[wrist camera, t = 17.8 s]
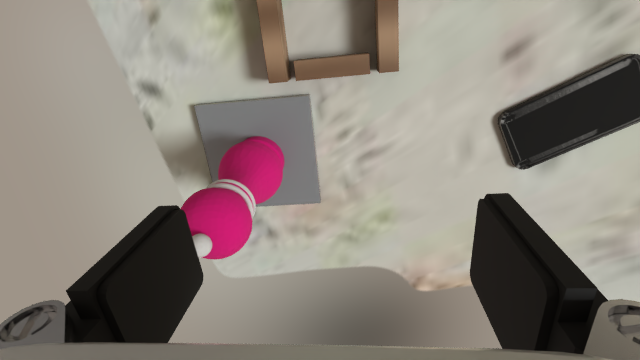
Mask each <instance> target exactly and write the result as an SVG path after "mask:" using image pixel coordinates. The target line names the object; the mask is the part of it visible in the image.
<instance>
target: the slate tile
mask: <svg viewBox="0 0 640 360" xmlns="http://www.w3.org/2000/svg"><path fill="white" fill-rule="evenodd" d="M194 107H195V111H196V115H197V120H198V124H199V128H200V132H201V136H202V140H203V144H204V149H205V153H206V157H207V161H208V165H209V169H210V173H211V178H212V182H215V181H217V180H219V179H218V170H219V165H220V161H221V159H222V157H223V156H224V154H225V153H226V152H227V151H228V150H229V149H230V148H231V147H232V146H234V145H236V144H238V143H240V142H243V141H244V140H246V139H248V138H250V137H254V136H261V137H266V138H268V139H270V140H272V141H274V142H275V143H276V144H277V145H278V146H279V147H280V149H281V150H282V152H283V155H284V168H283V178H282V182H281V185H280V187H279V188H278V190H277V191H276V193H275V194H274V195H273V196H272V197H271V198H269V199H268V200H266V201H265V202H263V203H260V204H256V207H257V206H275V205H293V204H311V203H321V194H320V185H319V176H318V166H317V157H316V148H315V138H314V129H313V120H312V110H311V101H310V94H309V95H297V96H286V97H275V98H264V99H253V100H242V101H230V102H219V103H208V104H197V105H195V106H194Z"/></svg>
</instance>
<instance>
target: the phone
mask: <svg viewBox="0 0 640 360" xmlns="http://www.w3.org/2000/svg"><path fill="white" fill-rule="evenodd" d="M638 122H640V55H638V54H627V55H624V56H622V57H620V58H618V59H616V60H614V61H611V62H609V63H607V64H605V65H603V66H601V67H599V68H596V69H594V70H592V71H590V72H588V73H586V74H584V75H581V76H579V77H577V78H575V79H573V80H571V81H569V82H566V83H564V84H562V85H560V86H558V87H556V88H554V89H551V90H549V91H547V92H545V93H543V94H541V95H539V96H536V97H534V98H532V99H530V100H528V101H526V102H523V103H521V104H519V105H517V106H515V107H513V108H511V109H508V110H506V111H504V112H503V113H502V114H501V115H500V116H499V118H498V125H499V127H500V130H501V133H502V136H503V138H504V141H505V144H506V147H507V150H508V152H509V155H510V158H511V161H512V163H513V165H515V166H516V167H517V168H518V169H528V168H530V167H532V166H535V165H537V164H540V163H542V162H544V161H547V160H549V159H552V158H554V157H556V156H559V155H561V154H564V153H566V152H568V151H571V150H573V149H576V148H578V147H580V146H583V145H585V144H588V143H590V142H592V141H595V140H597V139H600V138H602V137H604V136H607V135H609V134H612V133H614V132H616V131H619V130H621V129H624V128H626V127H629V126H631V125H633V124H636V123H638Z"/></svg>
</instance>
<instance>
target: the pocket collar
mask: <svg viewBox="0 0 640 360" xmlns="http://www.w3.org/2000/svg"><path fill="white" fill-rule="evenodd" d="M257 7H258V14H259V20H260V27H261V33H262V40H263V47H264V53H265V60H266V66H267V73H268V80H269V83H278V82H287V81H289V80H290V79H291V74H290V66H289V58H288V50H287V42H286V34H285V26H284V18H283V11H282V3H281V0H257ZM375 17H376V50H377V71H378V72H379V73H385V72H395V71H399V40H398V0H375ZM294 69H295V77H296V81H300V80H310V79H321V78H331V77H342V76H353V75H363V74H370V60H369V53H360V54H350V55H340V56H330V57H320V58H310V59H300V60H296V61H294Z"/></svg>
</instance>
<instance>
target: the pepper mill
mask: <svg viewBox="0 0 640 360" xmlns="http://www.w3.org/2000/svg"><path fill="white" fill-rule="evenodd" d="M283 168H284V155H283V152H282V150H281V149H280V147H279V146H278V145H277V144H276V143H275V142H274V141H272V140H270V139H268V138H266V137H261V136H254V137H250V138H248V139H246V140H244V141H243V142H240V143H238V144H236V145H234V146H232V147H231V148H230V149H229V150H228V151H227V152H226V153H225V154H224V156H223V157H222V159H221V161H220V165H219V170H218V179H219V180H217V181H215V182H213V183H211V184H210V185H209V186H208V187H207V188H206V189H202V190H200V191H198V192H196V193H194V194H193V195H192V196H190V197H189V198H188V199H187V200H186V201H185V203H184V204H183V206H182V207H181V209H180V210H184V212H185V214H186V217H187V220H188V224H189V227H190V231H191V234H192V238H193V241H194V244H195V248H196V251H197V255H198V258H200V257H201V258H202V257H203V258H207V259H222V258H225V257H228V256H231V255H233V254H234V253H236V252H237V251H239V250H240V249H241V248H242V247H243V246H244V244H245V243H246V241H247V240H248V238H249V236H250V233H251V231H252V218H253V216H254V214H255V210H256V204H260V203H263V202H265V201H266V200H268V199H269V198H271V197H272V196H273V195H274V194H275V193H276V191H277V190H278V188H279V187H280V185H281V182H282V178H283Z"/></svg>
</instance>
